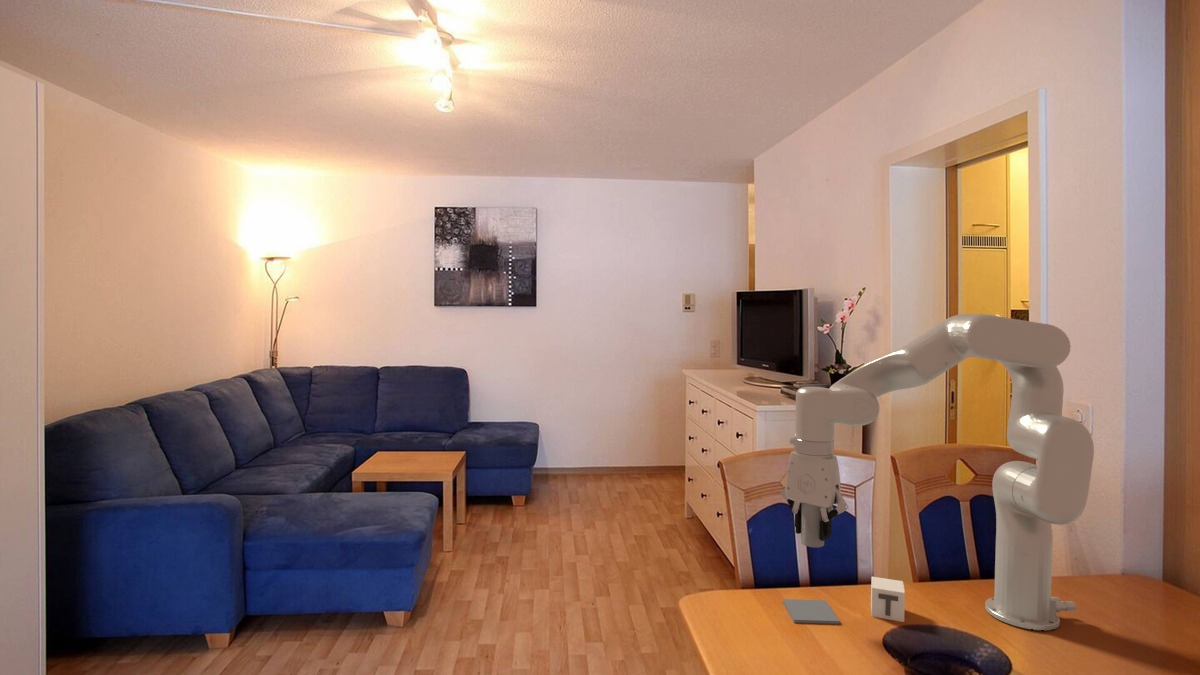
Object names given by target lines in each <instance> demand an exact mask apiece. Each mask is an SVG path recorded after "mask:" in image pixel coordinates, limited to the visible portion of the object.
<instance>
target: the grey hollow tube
mask: <svg viewBox="0 0 1200 675" xmlns="http://www.w3.org/2000/svg"><path fill="white" fill-rule="evenodd" d="M821 520H822V515H821V510H820V507H817V506H813V505H808V504H804V503H801V533H800V543H801V544H802V545H803V546H806V547H809V548H822V547H824V546H825V540H824V541H821V540H820V539H819V529H820V521H821Z"/></svg>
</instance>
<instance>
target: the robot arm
mask: <svg viewBox="0 0 1200 675" xmlns="http://www.w3.org/2000/svg"><path fill="white" fill-rule="evenodd" d="M1071 347H1072V346H1071V342H1070V338H1069V337H1068V336H1067V334H1066V333H1065V331H1063V330H1062V329H1061V328H1059V327H1057V326H1055V325H1052V324H1049V323H1044V322H1036V321H1030V320H1029V321H1028V320H1022V319H1017V318H1009V317H1004V316H998V315H994V314H987V313H986V314H983V313H974V314H973V313H961V314H956V315H953V316H949V317H947V318H946V319H944V320H943V321H941V322H939V323H938V324H937V325H935V326H933V327H932V328H930V329H928V330H927V331H925V333H924V332H923V333H922V334H921V335H919V336H918V337H916V338H915V339H913V340H911V341H910V342H908V343H907V344H905V345H903V346H902V347H900V348H899V349H896V350H894V351H893V352H891V353H888V354H885V355H883V356H882V357H880V358H878V359H875V360H873V361H870V362H868V363H866V364H864V365H862V366H860V367H858V368H856V369H855V370H853V371H852V372H850V373H848V374H847V375H845V376H844V377H842V378H840V379H839V380H838V381H836V382H834V383H833V384H832V385H830V387H829V388H828V387H822V386H803V387H800V388H798V389H797V391H796V393H795V423H794V426H795V428H794V429H795V430H794V431H795V432H794V434H795V435H794V438H793V437H791V438H790V440H789V444H790V445H792V446H793V447H794V448H793V449H794V450H792V451H791V452H790V456H789V459H788V463H787V464H788V465H787V470H786V476H785V478H786V479H785V487H784V488H783V489H782V490H781V491H780V495H781V497H782V498H783V499H784V500H785V501H786V502H787V505H789V507H790V508H791V511H792V513H793V514H794V528H795V534H798V535H799V534H800V535H801V503H804V504H808V505H813V506H817V507H820V510H821V515H822V520H821V521H820V529H819V539H820V540H821V541H824V542H825V541H826V540H828V539H830V537H831V536H832V534H833V533H832V529H833V523H832V521H833V519H835V518H836V517H837V516H839V515H840V514H842V513H844V512H845V511H848V510H849V505H848V504H847V502H846V500H845V498H844V497H843V495H842V493H841V477H840V475H841V474H840V469H839V468H840V467H839V462H838V458H837V456H836V455H835V453H834V451H835V449H834V448H835V424H841V425H848V426H856V427H858V426H859V427H862V426H866V425H869V424H871V423H872V422H874V421H875V420H876V419H877V417H878V416H879V414H880V403H879V401H878V397H880V396H883V395H885V394H888V393H891V392H894V391H899V390H900V391H901V390H907V389H912V388H917V387H921V386H924V385H927V384H928V383H931V382H932V381H933V380H934V379H936V378H938V377H940V376H941V375H942V374H944V373H945V372H947V371H949V370H950V369H952V368H954V367H955V366H957V365H958V364H960V363H961V362H962V361H964V360H967V359H968V358H979V359H985V360H991V361H995V362H999V363H1000V364H1001V365H1002V366H1003V367H1004V368H1005V370H1006V371H1007V373H1008V375H1009V377H1010V380H1011V387H1012V388H1011V390H1012V391H1011V400H1010V408H1009V415H1008V423H1007V430H1006V440H1007V443H1008V445H1009V446H1010V448H1011V449H1012V450H1014V451H1015V452H1017V453H1019V454H1021V455H1023V456H1026V457H1028V458H1031V459H1034V460H1036V461H1037V464H1034V463H1031V462H1027V461H1022V460H1012V461H1008V462H1005V463H1003V464H1001V465H1000V466H999V467H998V468H997V469H996V471H995V472H994V475H993V477H992V481H991V482H992V486H991V487H992V488H991V489H992V495H993V500H994V501H993V502H994V507H995V514H996V515H995V518H996V521H995V522H996V525H995V528H996V529H995V530H996V531H995V533H996V534H995V558H994V559H995V562H994V564H995V565H994V595H993V597H990V598H988V599H986V601H984V603H985V604H984V605H985V606H984V608H985V610H986V612H987V613H988V614H989V615H990V616H992V617H994V618H995V619H997V620H999V621H1001V622H1002V623H1003V622H1004V623H1005V624H1008V625H1011V626H1014V627H1017V628H1021V629H1026V630H1031V629H1033V630H1032V631H1041V630H1044V631H1052V629H1053V630H1056V629H1058V628H1059V627H1060V622H1061V621H1060V620H1061V619H1060V617H1059V615H1058V614H1057V613H1060V612H1061V611H1063V612H1076V610H1077V606H1076V604H1075V602H1074V601H1073V600H1072V601H1071V600H1061V599H1060V598H1059V597H1058V596H1052V572H1053V571H1052V570H1053V565H1052V564H1053V545H1054V544H1053V543H1054V540H1053V539H1054V537H1053V536H1054V534H1053V527H1052V524H1053V525H1059V526H1063V525H1069V524H1072V523H1074V522H1075V521H1077V520H1078V519H1079V518H1080V517H1081V515H1082V514H1083V512H1084V510H1085V508H1086V506H1087V501H1088V497H1089V492H1090V491H1089V490H1090V484H1091V478H1092V477H1091V476H1092V469H1093V462H1094V454H1095V453H1094V452H1095V451H1094V450H1095V446H1094V445H1095V444H1094V441H1093V438H1092V435H1091V433H1090V431H1089V430H1088V429H1087V427H1086V426H1085V425H1084V424H1083V423H1082V422H1080V421H1078V420H1076V419H1073V418H1071V417H1067V416H1064V415H1063V404H1064V380H1063V378H1062V375H1061V372H1060V370H1059V368H1058V366H1060V365H1061V364H1062V363H1064V362H1065V361H1066V360H1067V358H1068V357H1069V355H1070V352H1071ZM833 505H837V506H836V507H835V508H834V507H833Z"/></svg>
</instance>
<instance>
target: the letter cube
mask: <svg viewBox="0 0 1200 675" xmlns="http://www.w3.org/2000/svg"><path fill="white" fill-rule="evenodd" d="M870 581H871V583H870V584H871V585H870V586H871V587H870V589H871V590H870V592H871V593H870V610H871V613H870V614H871V617H874V618H879V619H885V620H891V621H895V622H901V623H902V622H903V623H905V603H906V602H905V600H906V597H905V596H906V595H905V594H906V591H905V586H904V581H903V580H898V579H897V580H896V579H890V578H883V577H876V576H871V580H870Z"/></svg>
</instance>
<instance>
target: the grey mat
mask: <svg viewBox="0 0 1200 675" xmlns="http://www.w3.org/2000/svg"><path fill="white" fill-rule="evenodd" d="M782 604H783V605H784V607H785V606H786V607H785V609H786V610H788V611H787V612H788V614H789V616H790V619H791V620H792V622H793V623H796V624H824V625H825V624H828V625H834V624H835V625H841V624H840V623H841V620H840V619H839V618H838V616H837V615H836V614H835V612H834V610H833V609H832V608H831V606H830V605H829V602H827V600H825V599H823V600H822V599H798V598H797V599H794V598H788V599H787V598H783V599H782Z"/></svg>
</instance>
